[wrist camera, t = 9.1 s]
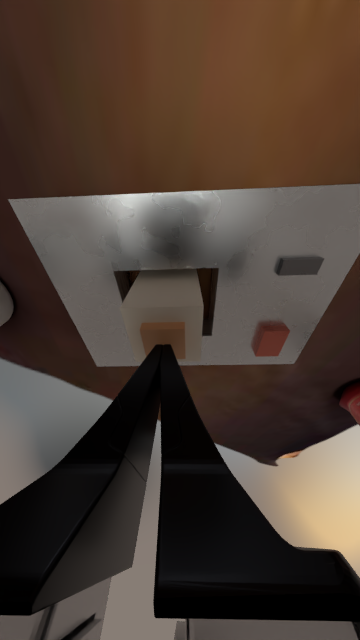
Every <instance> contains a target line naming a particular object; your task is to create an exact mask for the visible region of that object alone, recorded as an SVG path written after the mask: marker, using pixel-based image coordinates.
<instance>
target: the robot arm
mask: <svg viewBox="0 0 360 640" xmlns="http://www.w3.org/2000/svg"><path fill="white" fill-rule="evenodd" d="M160 401H161V454H162V457H161V461H162V462H161V487H160V504H159V520H158V537H157V552H156V569H155V585H154V586H155V587H154V615H155V618H181V619H185V620H186V621H185V622H180V621H177V624H176V630H175V637H174V640H360V578H359V576H358V575H357V574H356V572H355V571H354V570H353V568H352V567H351V566H350V564H349V563H348V562H347V560H346V559H345V558H344V556H343V555H342V554H341V553H340V552H339V551H336V550H330V549H316V548H302V547H294V546H292V545H290V544H289V543H288V542H286V541H285V540H284V539H283V538H282V537H281V536H280V535H279V534H278V533H277V532H276V531H275V529H274V528H273V527H272V525H271V524H270V523H269V522H268V520H267V519H266V518H265V516H264V515H263V514H262V513H261V511H260V510H259V508H258V507H257V506H256V504H255V503H254V502H253V501H252V499H251V498H250V497H249V495H248V494H247V493H246V491H245V490H244V489H243V487H242V486H241V485H240V484H239V482H238V481H237V480H236V478H235V477H234V476H233V474H232V473H231V471H230V470H229V468H228V467H227V465H226V463H225V462H224V460H223V458H222V457H221V455H220V453H219V452H218V449H217V448H216V446H215V444H214V442H213V440H212V438H211V437H210V435H209V433H208V431H207V429H206V427H205V426H204V424H203V422H202V420H201V418H200V416H199V414H198V411H197V409H196V407H195V404H194V402H193V399H192V397H191V396H190V392H189V389H188V387H187V384H186V382H185V379H184V377H183V374H182V372H181V369H180V366H179V364H178V361H177V359H176V356H175V354H174V351H173V349H172V346H171V344H164V345H163V344H156V345H155V346H154V347H153V349H152V350H151V351H150V353H149V354H148V355H147V357H146V358H145V359H144V361H143V362H142V363H141V365H140V366H139V367H138V369H137V370H136V371H135V373H134V374H133V375H132V377H131V378H130V379H129V381H128V382H127V383H126V385H125V386H124V387H123V389H122V390H121V391H120V393H119V394H118V396H117V397H116V398H115V399H114V401H113V402H112V403H111V405H110V406H109V407H108V408H107V410H106V411H105V412H104V413H103V415H102V416H101V417H100V418H99V419H98V421H97V422H96V423H95V424H94V425H93V426H92V427H91V428H90V429H89V431H88V432H87V433H86V434H85V435H84V436H83V437H82V438H81V439H80V440H79V442H78V443H77V444H76V445H75V446H74V447H73V448H72V449H71V450H70V452H69V453H68V454H67V455H66V456H65V457H64V458H63V459H62V460H61V461H60V462H59V463H58V464H57V465H56V466H55V467H53V468H52V469H51V470H50V471H49V472H47V473H46V474H45V475H43V476H42V477H40V478H39V479H37V480H36V481H34V482H33V483H31V484H30V485H28V486H27V487H26V488H24V489H23V490H21V491H20V492H18V493H17V494H15V495H14V496H12V497H11V498H9V499H8V500H7V501H5V502H4V503H2V504H1V505H0V640H100V636H101V631H102V625H103V620H104V615H105V609H106V604H107V599H108V593H109V588H110V582H111V577H112V576H114V575H116V574H118V573H120V572H122V571H124V570H126V569H129V568H130V567H132V564H133V558H134V553H135V547H136V541H137V535H138V529H139V524H140V518H141V512H142V506H143V500H144V495H145V489H146V482H147V477H148V471H149V465H150V459H151V454H152V448H153V442H154V436H155V430H156V424H157V419H158V413H159V407H160Z"/></svg>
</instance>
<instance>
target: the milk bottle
mask: <svg viewBox="0 0 360 640" xmlns="http://www.w3.org/2000/svg"><path fill="white" fill-rule="evenodd" d="M13 308H14V306H13V300H12V298H11V296H10V293H9V292H8V290H7V289H6V287H5V286H4V285H3V284H2V282H1V281H0V326H1V325H3V324H4V323H5V322H7V321H8V320H9V319H10V317H11V315H12V313H13Z"/></svg>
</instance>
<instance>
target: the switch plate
mask: <svg viewBox="0 0 360 640" xmlns="http://www.w3.org/2000/svg"><path fill="white" fill-rule="evenodd" d="M9 202H10V204H11V206H12V208H13V210H14V211H15V213H16V215H17V217H18V219H19V221H20V223H21V225H22V226H23V228H24V230H25V232H26V234H27V236H28V238H29V240H30V241H31V243H32V245H33V247H34V249H35V251H36V253H37V255H38V256H39V258H40V260H41V262H42V264H43V266H44V268H45V270H46V271H47V273H48V275H49V277H50V279H51V281H52V283H53V285H54V286H55V288H56V290H57V292H58V294H59V296H60V298H61V300H62V301H63V303H64V305H65V307H66V309H67V311H68V313H69V315H70V316H71V318H72V320H73V322H74V324H75V326H76V328H77V329H78V331H79V333H80V335H81V337H82V339H83V341H84V343H85V344H86V346H87V348H88V350H89V352H90V354H91V356H92V358H93V359H94V361H95V363H96V365H97V366H140V365H141V363H142V362H136V360H135V357H134V354H133V351H132V347H131V344H130V341H129V337H128V334H127V331H126V328H125V324H124V321H123V318H122V314H121V311H120V307H121V305H122V303H123V301H124V299H125V298H126V296H127V294H128V292H129V290H130V289H131V287H130V283H129V279H128V275H127V271H129V270H161V269H194V268H212V279H211V291H210V303H209V315H208V319H203V326H202V343H201V360H200V361H187V362H178V364H179V365H243V364H294V363H295V361H296V359H297V358H298V356H299V354H300V353H301V351H302V349H303V348H304V346H305V344H306V343H307V341H308V339H309V337H310V336H311V334H312V332H313V331H314V329H315V327H316V326H317V324H318V322H319V321H320V319H321V317H322V316H323V314H324V312H325V310H326V309H327V307H328V305H329V304H330V302H331V300H332V299H333V297H334V295H335V294H336V292H337V290H338V289H339V287H340V285H341V284H342V282H343V280H344V278H345V277H346V275H347V273H348V272H349V270H350V268H351V267H352V265H353V263H354V262H355V260H356V258H357V257H358V255H359V253H360V184H347V185H324V186H302V187H279V188H257V189H234V190H212V191H189V192H167V193H144V194H121V195H99V196H76V197H54V198H31V199H9Z"/></svg>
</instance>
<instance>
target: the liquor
mask: <svg viewBox="0 0 360 640" xmlns="http://www.w3.org/2000/svg"><path fill="white" fill-rule="evenodd" d="M340 406H341V407H342V408H344V409H346V410H347V411H349V412H350V413H351V415H352V416H353V417H354V419H355V420H356V421H357V423H358V424H359V425H360V381H358V382H355V383H353V384H351V385H349V386H347V387H346V388H345V389H344V390H343V393H342V396H341V399H340Z"/></svg>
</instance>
